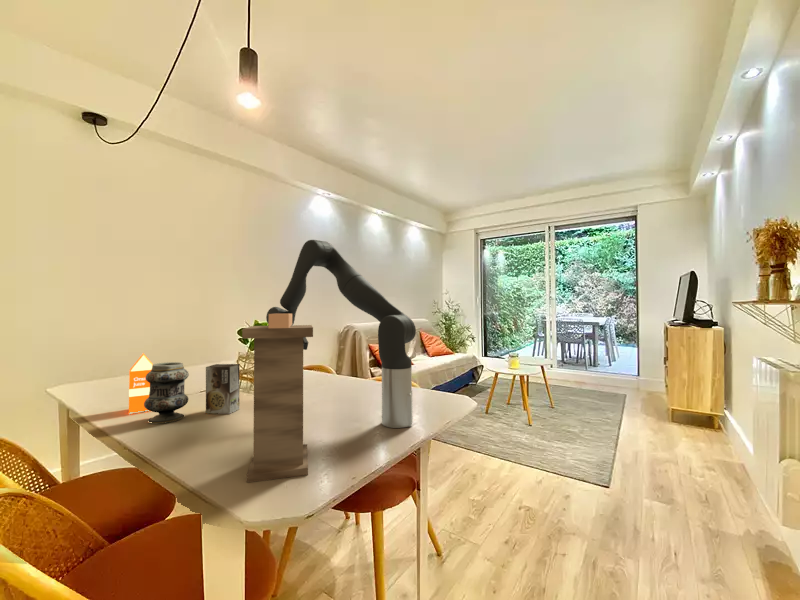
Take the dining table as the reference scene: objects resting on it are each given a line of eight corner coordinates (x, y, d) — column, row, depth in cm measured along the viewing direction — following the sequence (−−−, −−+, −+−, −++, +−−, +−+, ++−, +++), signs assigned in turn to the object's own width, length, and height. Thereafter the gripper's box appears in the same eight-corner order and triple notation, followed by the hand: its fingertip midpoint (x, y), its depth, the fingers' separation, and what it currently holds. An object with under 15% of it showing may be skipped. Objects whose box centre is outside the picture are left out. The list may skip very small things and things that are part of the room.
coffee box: (240, 409, 127) (240, 363, 127) (229, 414, 120) (230, 366, 121) (216, 408, 128) (216, 363, 128) (204, 413, 121) (205, 366, 122)
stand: (252, 452, 87) (253, 326, 88) (311, 446, 91) (311, 325, 92) (241, 483, 72) (242, 328, 73) (312, 474, 75) (313, 327, 76)
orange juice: (128, 414, 121) (129, 355, 121) (128, 409, 128) (129, 353, 129) (156, 410, 125) (156, 353, 126) (155, 405, 132) (156, 351, 133)
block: (277, 324, 99) (277, 313, 99) (292, 324, 100) (292, 313, 100) (268, 328, 74) (268, 313, 74) (288, 328, 75) (288, 313, 75)
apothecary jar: (196, 415, 119) (197, 361, 119) (161, 426, 108) (162, 367, 108) (170, 412, 123) (171, 360, 124) (134, 422, 112) (135, 365, 112)
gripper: (301, 344, 127) (307, 362, 113) (259, 339, 122) (259, 358, 107) (306, 324, 126) (312, 340, 112) (263, 318, 121) (264, 334, 106)
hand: (286, 349), depth 109 cm, fingers open, 8 cm apart
